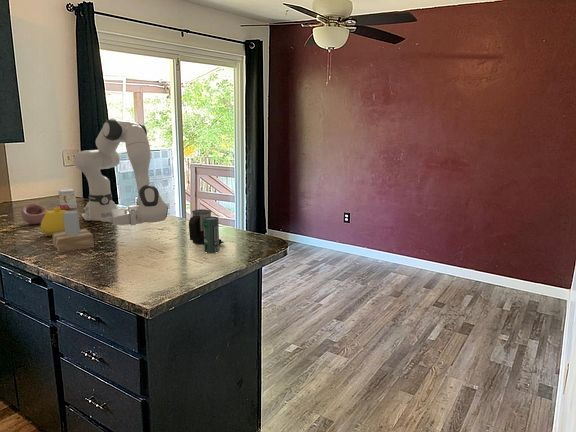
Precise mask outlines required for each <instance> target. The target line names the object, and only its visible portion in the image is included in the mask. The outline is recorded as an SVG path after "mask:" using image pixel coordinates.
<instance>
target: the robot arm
mask: <svg viewBox="0 0 576 432" xmlns="http://www.w3.org/2000/svg"><path fill="white" fill-rule="evenodd" d="M147 135H148V131H147V128H146V126H145V124H142V123H140V122H134V121H130V120H121V119H120V118H117V117H112V118H110V119H106V120H105V121H104V123H103V124H102V127H101V130H100V131H99V133H98V135H97V137H96V138H95V146H96V148H97V149H89V150H87V149H86V150H81V151H78V152H76V153H75V155H74V157H73V164H74V166H75V167H76V169H77V170H79V171H81V172H82V173H83V175H84V176H85V177H86V180H87V183H88V188H89V189H88V190H89V191H88V192H89V194H88V202H87V203H86V205H85V207H83V208H82V209H83V212H84V213H82V214H81V217H82V219H84V220H85V221H101V222H102V223H103V222H106V223H108V222H109V223H112V224H113V226H116V225H117V226H126V225H127V226H128V225H130V226H136V225H140V224H143V223H148V224H150V223H159V222H163V221H165V220H166V219H167V217H168V214H169V207H168V205H167V204H166V202H164V200H163V199H162V197H161V195H160V193H159V189H158V188H157V187H155V186H154V185H153V184H150V179H149V170H150V169H149V168H150V164H151V155H152V154H151V147H150V143H149V139H148V136H147ZM120 143H125V147H126V148H125V150H126V153H127V157H128V160H129V162H130V164H131V167H132V170H133V172H134V173H133V174H134V177H135V182H136V189H137V198H136V203H135V204H136V205H135V204H134V205H128V206H127V208H126V207H123V208H121V207H119V208H116V203H115V201H113V195H112V191H111V181H110V179H109V178H108V177H107V176H105V175H103V174H102V172H101V170H104V169H105V170H107V169H111V168H112V169H113V168H114V167H117V166H118V165H119V164H120V155H119V153H118V152H117V149H118V147H119V145H120Z"/></svg>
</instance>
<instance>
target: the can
mask: <svg viewBox="0 0 576 432" xmlns="http://www.w3.org/2000/svg"><path fill="white" fill-rule="evenodd" d="M203 220H204V244H203V245H204V253H205V252H207V253H206V254H216V252H217V253H219V252H220V245H219V239H220V228H219V227H220V226H219V224H220V223H219V221H220V220H219V217H218V216H212V215H211V216H210V217H205V218H203ZM218 251H219V252H218Z"/></svg>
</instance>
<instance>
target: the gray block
mask: <svg viewBox="0 0 576 432" xmlns="http://www.w3.org/2000/svg"><path fill="white" fill-rule="evenodd" d="M63 217H64V226H65V235H66V236H69V235H78V234H79V233H80V229H81V228H80V219H79V218H80V216H79V211H78V210H67V211H66V212H64V213H63Z"/></svg>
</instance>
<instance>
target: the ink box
mask: <svg viewBox="0 0 576 432" xmlns="http://www.w3.org/2000/svg"><path fill="white" fill-rule="evenodd" d="M76 196H77V195H76V190H75V189H73V188H68V189H67V188H65V189H59V190H58V197H59V198H58V199H59V207H60V210H71V209H72V210H73V209H77V208H78V207H77V206H78V205H77V197H76Z"/></svg>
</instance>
